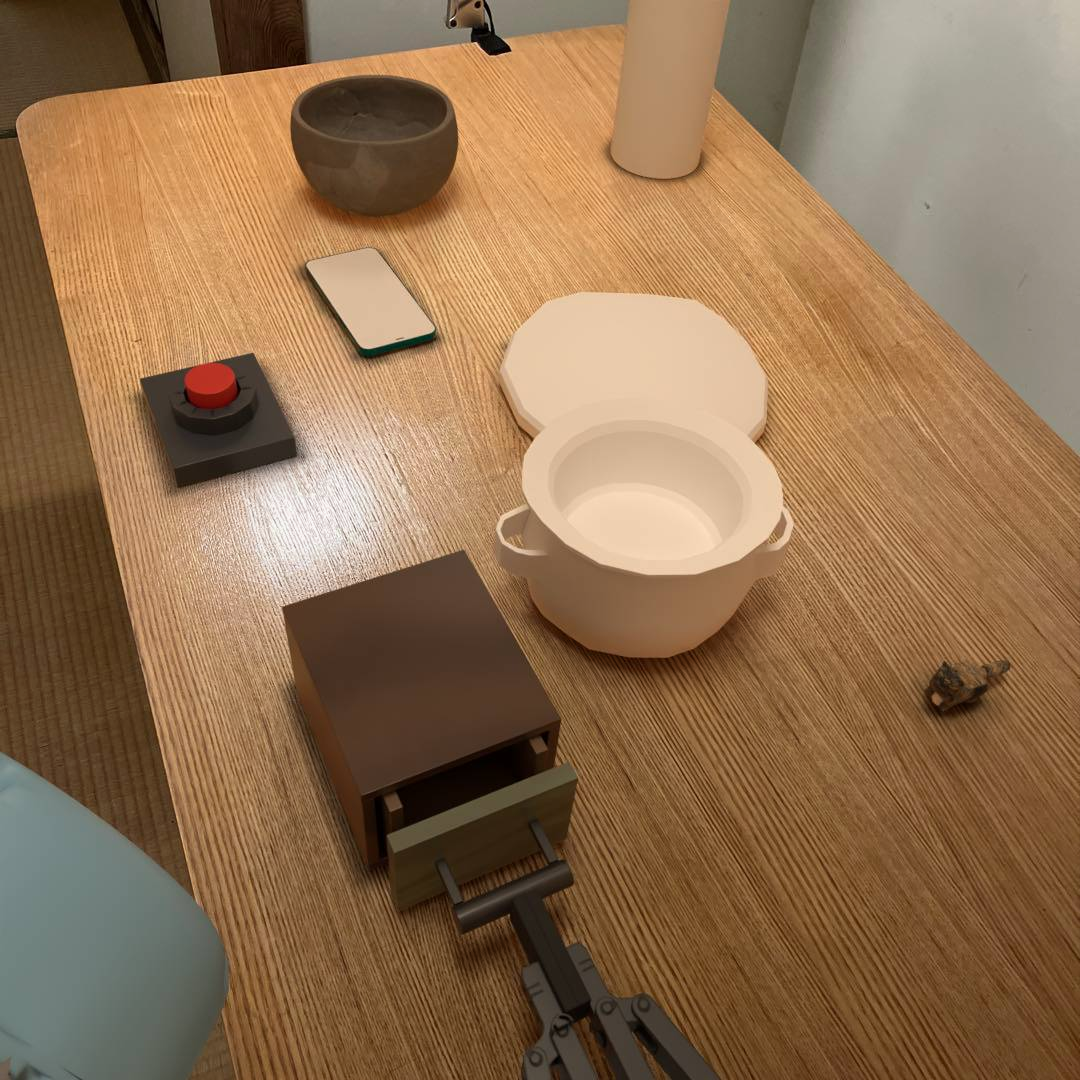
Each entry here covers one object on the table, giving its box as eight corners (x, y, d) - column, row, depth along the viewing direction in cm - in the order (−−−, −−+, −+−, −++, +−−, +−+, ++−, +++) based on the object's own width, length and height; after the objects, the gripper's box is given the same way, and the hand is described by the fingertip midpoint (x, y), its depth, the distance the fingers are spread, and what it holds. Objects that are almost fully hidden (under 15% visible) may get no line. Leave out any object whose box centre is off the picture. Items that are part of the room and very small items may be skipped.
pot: (737, 503, 91) (771, 392, 82) (798, 672, 79) (845, 564, 70) (478, 517, 88) (483, 403, 79) (503, 695, 76) (512, 586, 67)
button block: (177, 488, 87) (168, 452, 85) (144, 397, 94) (134, 361, 91) (297, 456, 91) (292, 420, 88) (256, 371, 98) (250, 335, 95)
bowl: (334, 141, 126) (327, 56, 119) (478, 172, 124) (480, 86, 117) (270, 215, 115) (258, 126, 108) (427, 250, 113) (427, 161, 105)
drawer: (599, 900, 66) (614, 842, 60) (425, 979, 62) (424, 925, 56) (480, 677, 76) (483, 609, 70) (324, 733, 72) (314, 666, 66)
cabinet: (549, 797, 71) (561, 718, 64) (368, 872, 67) (360, 796, 60) (461, 634, 80) (464, 549, 72) (296, 691, 75) (281, 606, 68)
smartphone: (302, 269, 109) (362, 360, 100) (301, 261, 108) (361, 352, 99) (375, 253, 112) (440, 339, 103) (375, 245, 111) (440, 331, 102)
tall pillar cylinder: (716, 157, 130) (762, -67, 112) (664, 189, 124) (704, -43, 106) (645, 125, 134) (679, -97, 116) (592, 154, 129) (618, -74, 110)
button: (195, 414, 88) (191, 398, 87) (182, 385, 90) (179, 369, 89) (243, 403, 90) (240, 386, 88) (230, 374, 92) (227, 358, 91)
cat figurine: (903, 695, 78) (930, 659, 76) (976, 672, 82) (1004, 638, 79) (928, 725, 77) (957, 690, 74) (1001, 700, 80) (1031, 666, 78)
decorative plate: (501, 268, 104) (753, 280, 106) (499, 303, 107) (744, 315, 109) (499, 444, 88) (798, 456, 89) (497, 480, 91) (786, 491, 92)
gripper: (615, 1482, 47) (413, 978, 60) (855, 1322, 51) (616, 886, 65) (639, 1479, 41) (411, 924, 55) (906, 1300, 45) (633, 828, 59)
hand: (522, 904), depth 60 cm, fingers closed
